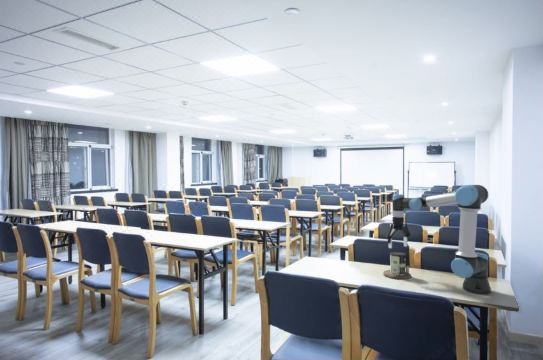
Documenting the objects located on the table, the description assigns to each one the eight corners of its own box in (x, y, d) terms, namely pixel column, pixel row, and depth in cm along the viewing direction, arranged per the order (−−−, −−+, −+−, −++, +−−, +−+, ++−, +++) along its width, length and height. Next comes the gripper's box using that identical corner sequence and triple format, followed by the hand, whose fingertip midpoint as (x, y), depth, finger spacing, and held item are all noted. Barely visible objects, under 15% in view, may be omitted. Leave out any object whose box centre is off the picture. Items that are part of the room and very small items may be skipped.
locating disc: (416, 277, 248) (416, 266, 248) (396, 280, 241) (396, 269, 241) (397, 270, 265) (397, 260, 265) (378, 273, 258) (378, 263, 257)
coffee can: (404, 271, 257) (404, 252, 256) (406, 276, 246) (406, 255, 246) (389, 271, 259) (389, 251, 258) (390, 275, 248) (391, 254, 248)
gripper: (407, 215, 260) (407, 244, 261) (380, 216, 250) (379, 247, 251) (415, 216, 253) (415, 246, 254) (387, 218, 243) (387, 249, 244)
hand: (397, 247), depth 252 cm, fingers open, 13 cm apart
